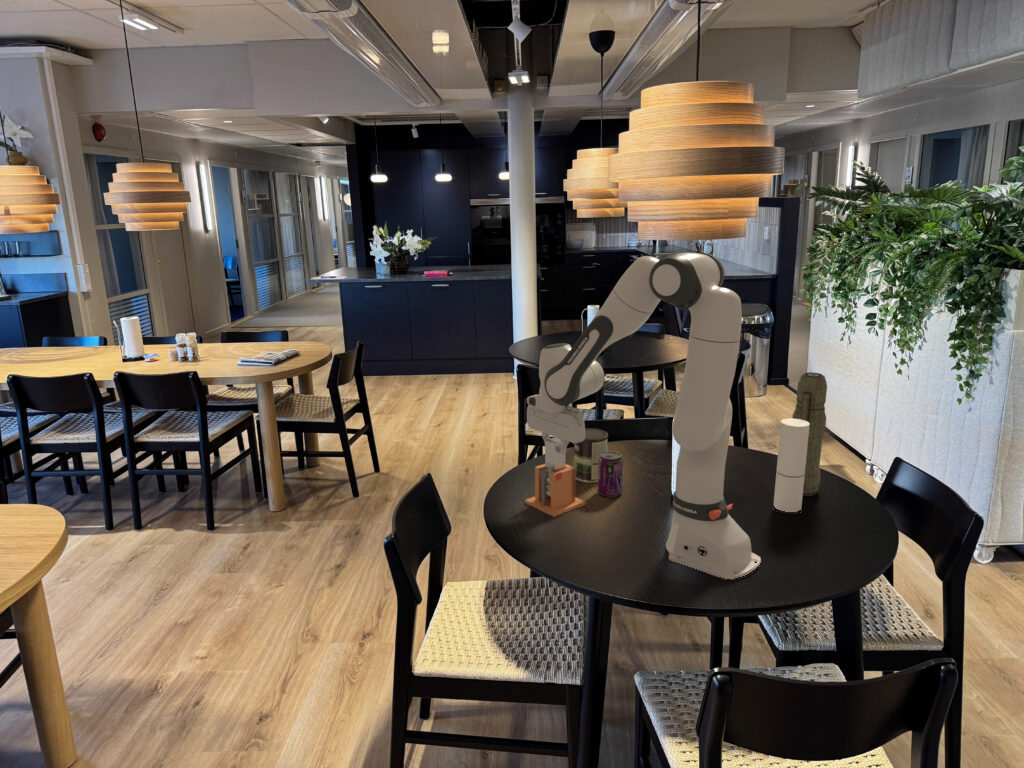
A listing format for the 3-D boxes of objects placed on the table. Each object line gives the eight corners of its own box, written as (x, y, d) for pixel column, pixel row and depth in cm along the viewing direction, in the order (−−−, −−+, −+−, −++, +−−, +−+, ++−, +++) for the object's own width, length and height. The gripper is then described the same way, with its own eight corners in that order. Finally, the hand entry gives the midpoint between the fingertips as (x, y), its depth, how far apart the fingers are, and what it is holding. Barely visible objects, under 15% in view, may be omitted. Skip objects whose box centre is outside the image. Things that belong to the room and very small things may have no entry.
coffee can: (574, 483, 215) (574, 438, 211) (572, 470, 225) (573, 428, 221) (608, 483, 214) (609, 439, 211) (605, 470, 224) (606, 428, 221)
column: (565, 494, 199) (565, 440, 195) (553, 499, 196) (553, 444, 192) (555, 490, 202) (555, 437, 198) (543, 494, 199) (543, 440, 195)
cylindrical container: (801, 506, 197) (810, 420, 190) (800, 516, 190) (808, 427, 184) (774, 502, 200) (782, 417, 193) (772, 512, 193) (779, 424, 187)
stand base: (585, 504, 199) (586, 467, 196) (553, 516, 192) (553, 478, 189) (556, 492, 208) (556, 456, 206) (525, 503, 201) (524, 465, 198)
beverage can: (614, 500, 202) (615, 461, 199) (593, 494, 206) (593, 455, 203) (626, 492, 207) (627, 453, 204) (605, 487, 212) (606, 449, 209)
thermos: (821, 486, 210) (833, 371, 201) (814, 501, 200) (827, 380, 191) (790, 481, 214) (800, 368, 206) (782, 494, 205) (792, 377, 196)
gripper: (591, 407, 187) (590, 457, 190) (539, 392, 202) (540, 438, 206) (573, 412, 183) (573, 463, 186) (522, 396, 198) (523, 443, 202)
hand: (555, 450), depth 196 cm, fingers open, 4 cm apart
